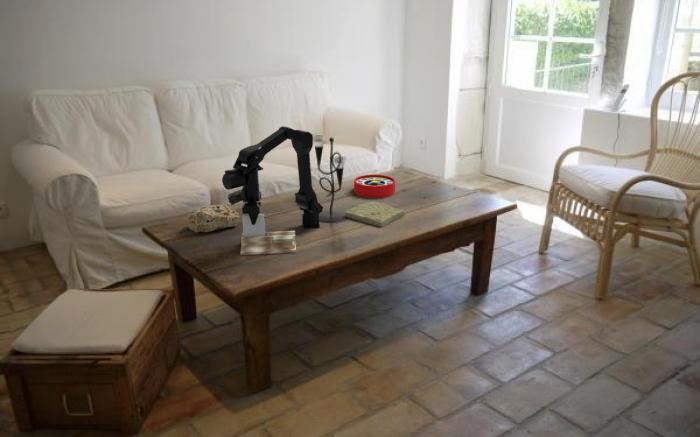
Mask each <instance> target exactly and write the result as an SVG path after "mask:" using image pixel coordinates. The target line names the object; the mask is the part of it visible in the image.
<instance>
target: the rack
mask: <svg viewBox="0 0 700 437" xmlns="http://www.w3.org/2000/svg"><path fill="white" fill-rule="evenodd" d="M288 235H293V241H295V248H287V249H270V241H271V239H273V236H288ZM240 240H241V246H240V256H249V255H267V254H269V255H270V254H272V255H273V254H291V253H297V245H296V244H297V242H296V231H295V230H283V231H281V230H279V231H265V236H254V237H244V235H243V232H242V233H241V237H240Z"/></svg>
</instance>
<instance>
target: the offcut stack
mask: <svg viewBox="0 0 700 437" xmlns="http://www.w3.org/2000/svg"><path fill="white" fill-rule="evenodd" d="M295 243H296V240H295V241H293V235H288V236H273V239H271V241H270V249H287V248H295Z"/></svg>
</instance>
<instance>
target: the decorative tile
mask: <svg viewBox="0 0 700 437" xmlns="http://www.w3.org/2000/svg"><path fill="white" fill-rule="evenodd" d="M344 217H345V218H349V219H352V220H356V221H358V222H362V223H366V224H370V225H373V226H377V227H380V228H384V227H385V226H387V225H389V224H391V223H393V222H395V221H397V220H400V219H401V218H403V217H405V212H404V210H403V209H400V208H395V207H392V206H390V205H388V204H386V203H383V202H381V203H380V202H377V201H371V200H369V201H367V202H365V203H360V204H357V205H355V207H351V208H350V209H348V210H345V212H344Z"/></svg>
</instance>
